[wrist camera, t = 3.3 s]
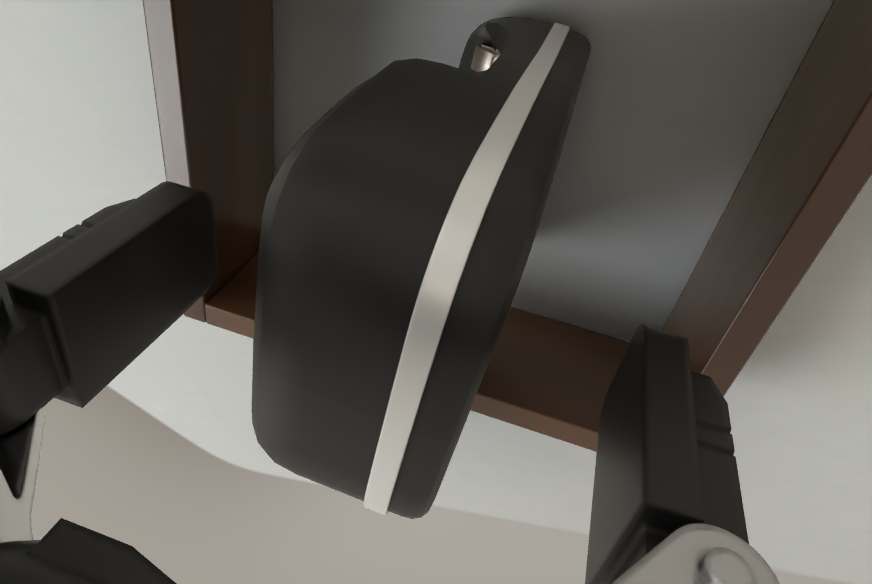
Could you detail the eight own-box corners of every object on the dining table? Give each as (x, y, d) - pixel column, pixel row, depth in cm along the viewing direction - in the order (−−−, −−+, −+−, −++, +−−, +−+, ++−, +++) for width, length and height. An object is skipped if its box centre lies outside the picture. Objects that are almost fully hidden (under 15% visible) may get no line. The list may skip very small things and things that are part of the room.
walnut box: (255, 246, 23) (183, 316, 19) (240, -221, 14) (107, -251, 11) (666, 372, 21) (670, 477, 17) (923, -85, 12) (1035, -68, 9)
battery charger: (458, -19, 15) (203, 134, 6) (599, 25, 15) (535, 250, 6) (408, 209, 20) (211, 490, 11) (517, 247, 19) (408, 570, 10)
